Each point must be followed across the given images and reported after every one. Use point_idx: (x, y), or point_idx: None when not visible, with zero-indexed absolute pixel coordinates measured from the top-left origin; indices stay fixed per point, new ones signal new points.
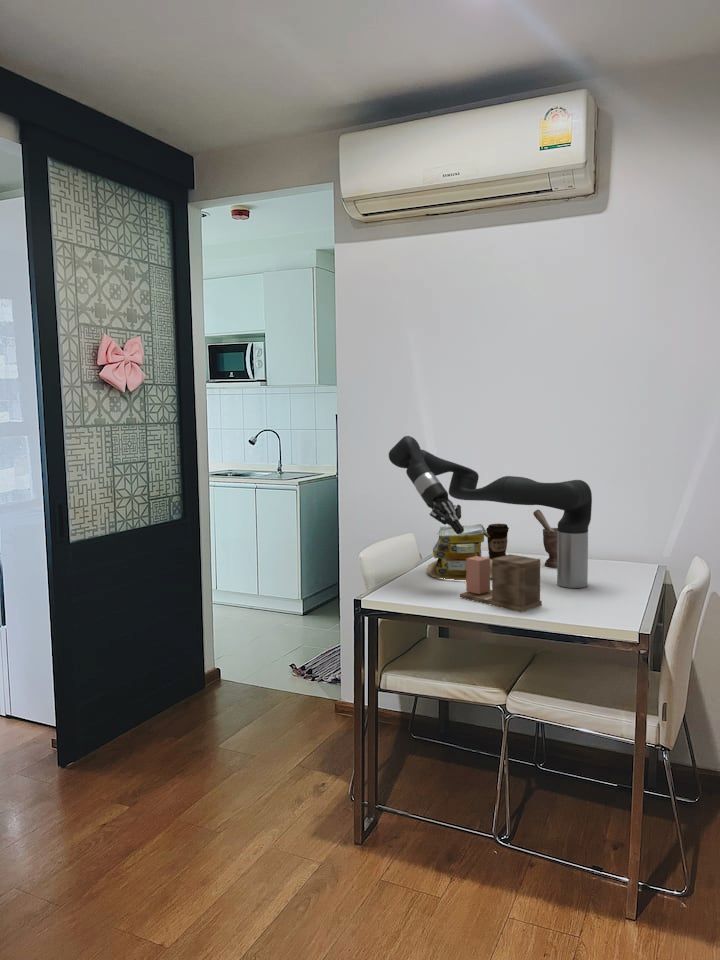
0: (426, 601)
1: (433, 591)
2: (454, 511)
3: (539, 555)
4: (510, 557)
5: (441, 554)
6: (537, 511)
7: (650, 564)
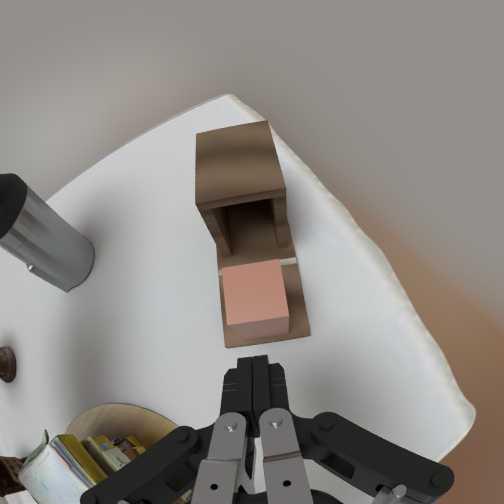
0: (391, 352)
1: None
2: (209, 471)
3: None
4: (230, 174)
5: None
6: None
7: None
